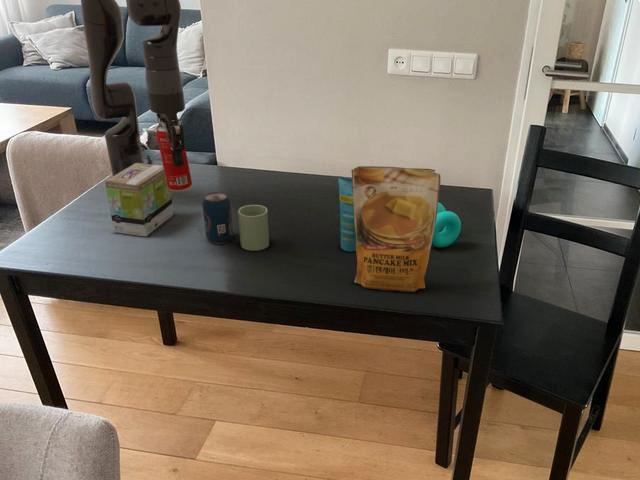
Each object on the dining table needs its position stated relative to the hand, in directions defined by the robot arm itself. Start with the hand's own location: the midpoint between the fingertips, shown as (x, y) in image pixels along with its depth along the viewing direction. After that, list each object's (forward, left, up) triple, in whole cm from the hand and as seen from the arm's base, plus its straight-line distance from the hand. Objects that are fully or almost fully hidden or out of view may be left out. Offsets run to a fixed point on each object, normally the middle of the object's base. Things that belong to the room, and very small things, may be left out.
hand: (175, 161), depth 138 cm
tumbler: (+6, +16, -23) cm, 29 cm away
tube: (+19, +37, -23) cm, 48 cm away
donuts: (+26, +59, -23) cm, 69 cm away
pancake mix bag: (+39, +36, -23) cm, 58 cm away
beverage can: (0, 0, -7) cm, 7 cm away
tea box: (-19, -6, -23) cm, 30 cm away
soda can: (-1, +9, -23) cm, 25 cm away
